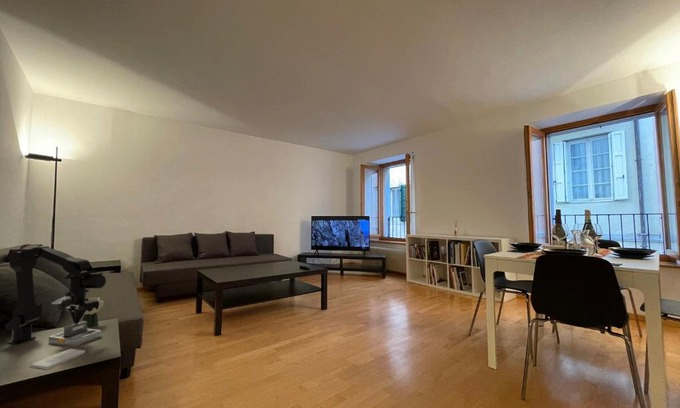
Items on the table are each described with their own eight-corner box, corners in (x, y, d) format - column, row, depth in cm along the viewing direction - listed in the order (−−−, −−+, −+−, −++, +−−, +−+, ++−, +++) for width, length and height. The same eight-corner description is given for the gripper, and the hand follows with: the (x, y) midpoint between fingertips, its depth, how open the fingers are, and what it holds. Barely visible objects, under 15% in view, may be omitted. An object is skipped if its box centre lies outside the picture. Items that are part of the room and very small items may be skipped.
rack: (47, 343, 121) (48, 336, 121) (76, 333, 131) (76, 327, 132) (73, 347, 117) (74, 340, 117) (101, 336, 128) (101, 330, 128)
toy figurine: (79, 330, 134) (81, 303, 135) (72, 328, 137) (73, 301, 138) (106, 323, 144) (107, 297, 145) (98, 321, 147) (99, 296, 148)
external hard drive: (85, 354, 112) (46, 371, 100) (69, 352, 114) (30, 368, 102) (85, 350, 112) (47, 366, 100) (69, 348, 114) (30, 363, 102)
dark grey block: (63, 340, 121) (64, 326, 122) (81, 334, 128) (82, 321, 129) (68, 341, 121) (69, 327, 121) (86, 334, 128) (87, 321, 128)
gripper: (40, 291, 120) (38, 328, 119) (72, 294, 116) (70, 332, 115) (70, 285, 131) (68, 319, 130) (101, 287, 127) (99, 322, 126)
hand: (76, 323), depth 125 cm, fingers closed
